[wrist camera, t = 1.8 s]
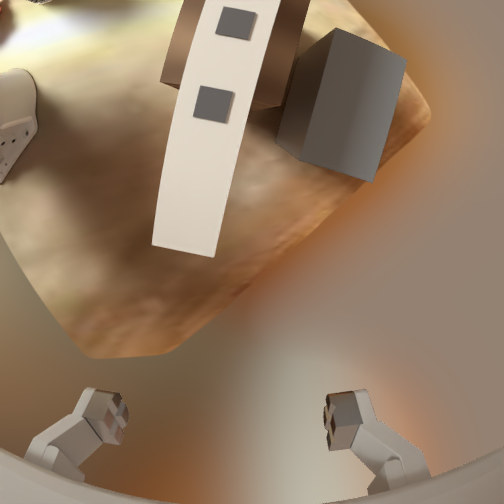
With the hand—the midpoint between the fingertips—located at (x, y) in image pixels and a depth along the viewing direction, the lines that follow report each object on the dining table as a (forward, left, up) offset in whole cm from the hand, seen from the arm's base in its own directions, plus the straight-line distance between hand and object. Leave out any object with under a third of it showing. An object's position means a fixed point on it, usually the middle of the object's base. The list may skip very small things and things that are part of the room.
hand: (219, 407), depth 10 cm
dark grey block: (+17, -1, -39) cm, 43 cm away
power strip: (+11, +10, -13) cm, 19 cm away
